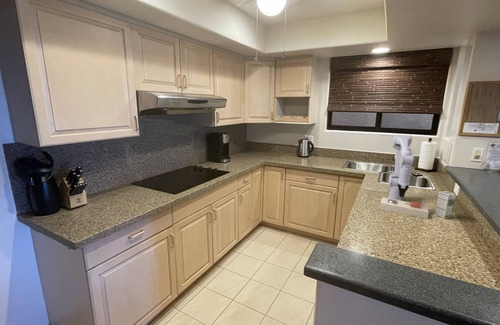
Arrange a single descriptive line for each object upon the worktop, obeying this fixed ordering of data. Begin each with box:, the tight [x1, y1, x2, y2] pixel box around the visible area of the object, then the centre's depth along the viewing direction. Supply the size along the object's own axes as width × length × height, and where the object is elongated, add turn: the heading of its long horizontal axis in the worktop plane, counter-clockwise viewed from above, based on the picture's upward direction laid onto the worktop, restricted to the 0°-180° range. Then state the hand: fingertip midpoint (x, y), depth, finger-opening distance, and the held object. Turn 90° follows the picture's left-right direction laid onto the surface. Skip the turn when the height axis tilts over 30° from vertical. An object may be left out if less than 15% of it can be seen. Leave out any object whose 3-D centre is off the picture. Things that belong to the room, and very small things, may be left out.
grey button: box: [388, 199, 397, 204], centre depth 152 cm, size 5×5×5 cm
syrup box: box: [434, 190, 457, 219], centre depth 140 cm, size 6×6×14 cm
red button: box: [410, 200, 422, 208], centre depth 145 cm, size 5×5×5 cm
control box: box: [379, 197, 430, 220], centre depth 149 cm, size 12×24×4 cm, turn 58°
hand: (401, 196), depth 148 cm, fingers closed
